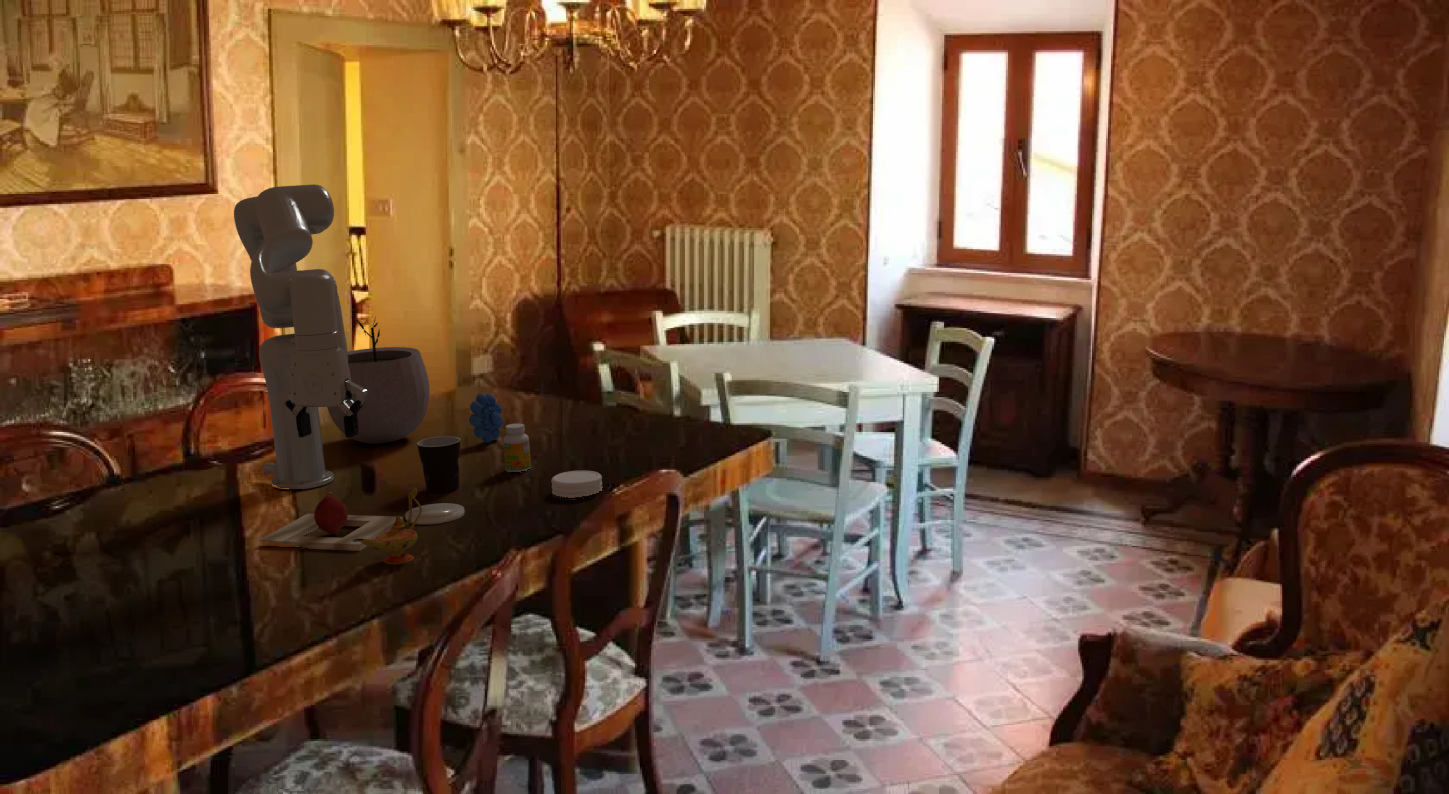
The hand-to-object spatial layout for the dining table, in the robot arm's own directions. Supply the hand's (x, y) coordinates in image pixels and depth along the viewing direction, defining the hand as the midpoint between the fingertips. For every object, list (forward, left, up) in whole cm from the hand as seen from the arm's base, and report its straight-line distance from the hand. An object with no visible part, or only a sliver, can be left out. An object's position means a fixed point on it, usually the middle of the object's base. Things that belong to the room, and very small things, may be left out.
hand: (328, 436), depth 239 cm
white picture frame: (0, -2, -18) cm, 18 cm away
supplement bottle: (+17, +44, -18) cm, 51 cm away
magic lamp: (+19, -15, -18) cm, 30 cm away
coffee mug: (+7, +30, -18) cm, 36 cm away
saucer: (+14, +11, -18) cm, 25 cm away
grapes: (+1, +66, -18) cm, 69 cm away
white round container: (+36, +29, -19) cm, 50 cm away
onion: (0, -2, -18) cm, 18 cm away
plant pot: (-27, +66, -18) cm, 74 cm away
